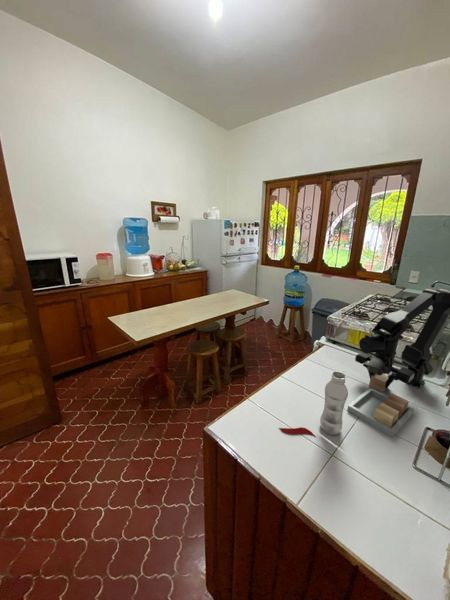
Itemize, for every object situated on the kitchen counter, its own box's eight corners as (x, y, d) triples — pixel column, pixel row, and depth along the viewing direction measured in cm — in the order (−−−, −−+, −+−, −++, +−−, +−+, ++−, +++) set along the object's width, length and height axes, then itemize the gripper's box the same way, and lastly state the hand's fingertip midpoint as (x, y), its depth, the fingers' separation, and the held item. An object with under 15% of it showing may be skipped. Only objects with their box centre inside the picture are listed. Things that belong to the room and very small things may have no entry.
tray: (369, 393, 94) (370, 387, 94) (412, 415, 84) (413, 409, 83) (347, 411, 85) (348, 405, 85) (392, 438, 75) (393, 432, 74)
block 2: (379, 414, 83) (381, 402, 82) (395, 424, 79) (399, 411, 78) (372, 421, 80) (374, 409, 79) (389, 431, 76) (392, 418, 75)
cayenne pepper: (318, 434, 77) (318, 429, 76) (316, 445, 73) (316, 440, 72) (279, 420, 82) (280, 416, 81) (276, 431, 78) (276, 426, 77)
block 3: (389, 404, 88) (392, 393, 86) (405, 413, 84) (408, 401, 82) (383, 411, 85) (385, 398, 83) (399, 419, 81) (403, 407, 79)
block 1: (374, 382, 101) (376, 371, 99) (388, 388, 97) (390, 377, 96) (368, 386, 98) (370, 375, 97) (382, 393, 94) (384, 382, 93)
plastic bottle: (340, 424, 80) (349, 370, 74) (342, 441, 74) (352, 384, 68) (318, 419, 82) (326, 366, 76) (319, 435, 76) (327, 379, 70)
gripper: (351, 345, 95) (345, 380, 100) (407, 367, 81) (397, 407, 86) (365, 338, 101) (358, 371, 106) (419, 357, 87) (409, 394, 92)
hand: (378, 384), depth 97 cm, fingers closed on block 1, 5 cm apart
